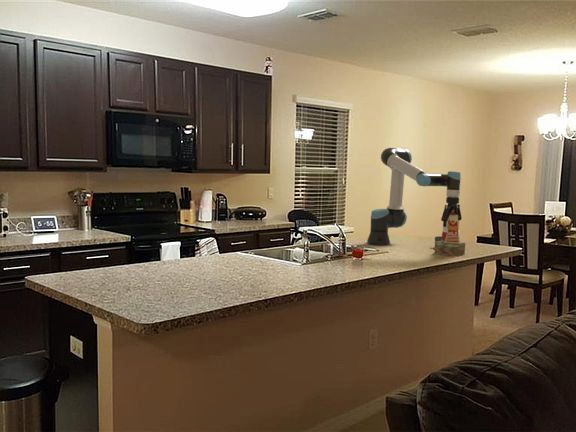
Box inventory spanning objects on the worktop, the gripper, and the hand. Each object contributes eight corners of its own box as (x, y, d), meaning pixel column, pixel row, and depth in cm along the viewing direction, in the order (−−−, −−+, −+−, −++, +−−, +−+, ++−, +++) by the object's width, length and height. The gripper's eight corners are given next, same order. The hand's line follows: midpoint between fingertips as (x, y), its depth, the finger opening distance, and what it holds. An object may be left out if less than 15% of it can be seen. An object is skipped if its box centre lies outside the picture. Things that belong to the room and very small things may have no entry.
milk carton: (459, 243, 319) (461, 210, 317) (444, 243, 319) (446, 210, 317) (455, 241, 328) (457, 209, 326) (440, 241, 328) (442, 209, 326)
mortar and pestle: (431, 247, 349) (432, 229, 348) (439, 246, 355) (440, 228, 354) (446, 249, 340) (447, 231, 339) (454, 248, 346) (455, 230, 345)
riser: (434, 253, 325) (434, 241, 324) (445, 251, 334) (446, 240, 333) (453, 256, 315) (454, 244, 314) (464, 254, 324) (465, 242, 323)
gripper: (447, 197, 310) (445, 233, 312) (468, 196, 327) (466, 230, 329) (436, 196, 315) (434, 232, 317) (457, 196, 332) (455, 229, 334)
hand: (450, 231), depth 323 cm, fingers open, 13 cm apart
